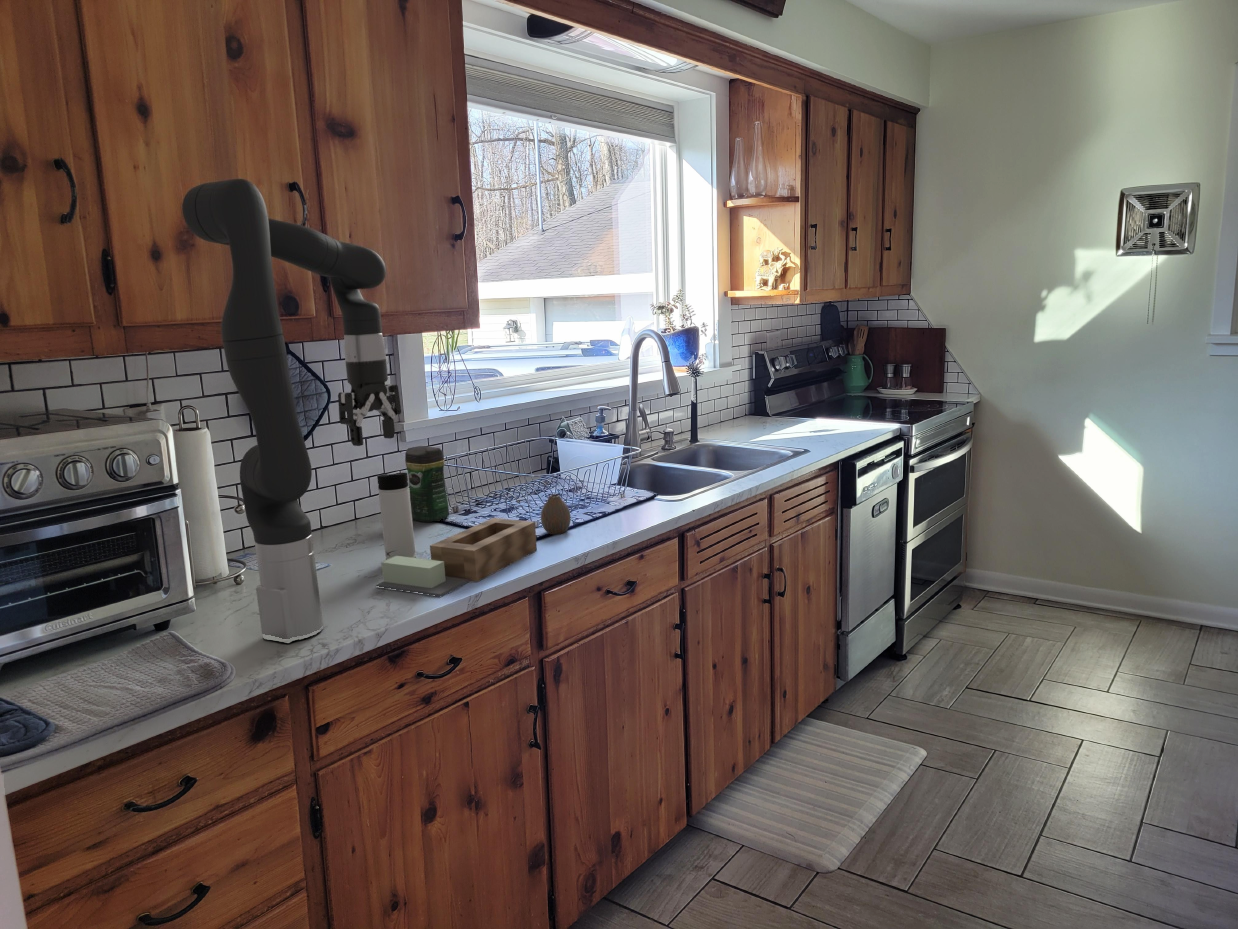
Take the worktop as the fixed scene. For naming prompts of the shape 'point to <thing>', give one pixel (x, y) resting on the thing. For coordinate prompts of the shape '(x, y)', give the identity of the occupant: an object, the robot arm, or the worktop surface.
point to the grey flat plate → (438, 590)
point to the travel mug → (396, 515)
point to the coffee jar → (426, 483)
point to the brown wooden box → (485, 548)
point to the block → (413, 571)
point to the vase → (555, 515)
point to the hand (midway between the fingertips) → (373, 441)
